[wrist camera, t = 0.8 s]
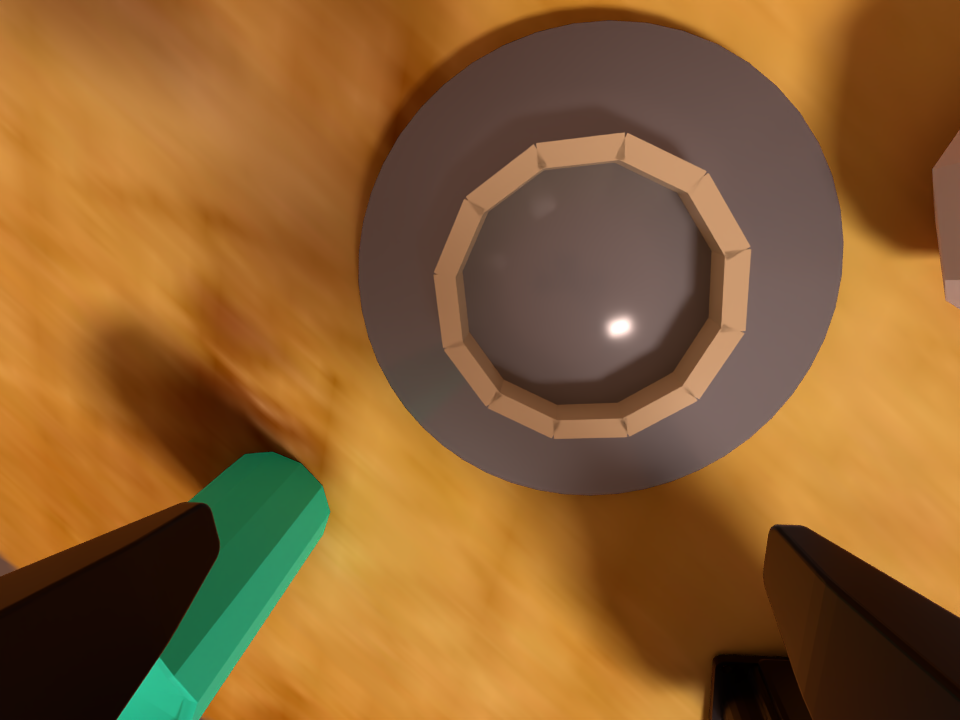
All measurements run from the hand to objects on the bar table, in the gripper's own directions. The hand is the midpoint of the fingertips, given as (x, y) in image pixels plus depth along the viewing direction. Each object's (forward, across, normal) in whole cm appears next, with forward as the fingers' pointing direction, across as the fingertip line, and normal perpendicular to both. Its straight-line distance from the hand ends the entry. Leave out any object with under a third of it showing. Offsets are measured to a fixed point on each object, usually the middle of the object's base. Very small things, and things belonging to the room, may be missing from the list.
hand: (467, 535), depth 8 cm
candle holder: (+14, -2, -1) cm, 14 cm away
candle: (+14, +13, +9) cm, 21 cm away
